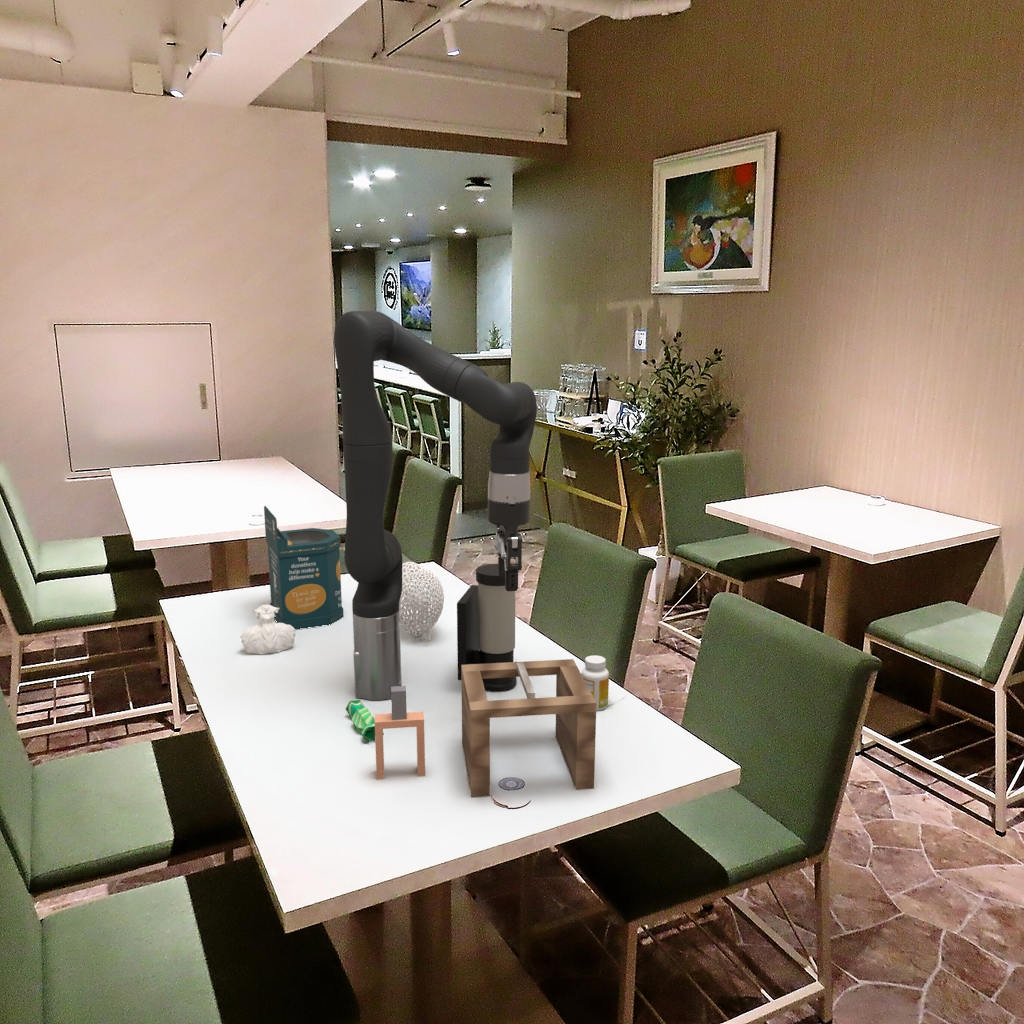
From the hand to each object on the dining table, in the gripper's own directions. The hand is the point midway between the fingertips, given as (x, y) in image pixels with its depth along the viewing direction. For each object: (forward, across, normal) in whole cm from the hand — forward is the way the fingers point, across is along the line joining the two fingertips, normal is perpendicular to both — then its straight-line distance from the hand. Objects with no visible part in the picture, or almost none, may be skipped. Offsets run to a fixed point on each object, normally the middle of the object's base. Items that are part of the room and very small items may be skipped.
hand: (507, 583), depth 159 cm
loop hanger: (+27, +16, -20) cm, 38 cm away
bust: (+28, -44, -48) cm, 71 cm away
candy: (+28, -1, -26) cm, 38 cm away
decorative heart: (+28, -47, -14) cm, 56 cm away
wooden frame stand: (+27, +17, +1) cm, 32 cm away
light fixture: (+28, -17, 0) cm, 32 cm away
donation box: (+28, -64, -40) cm, 81 cm away
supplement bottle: (+27, -4, +18) cm, 33 cm away
